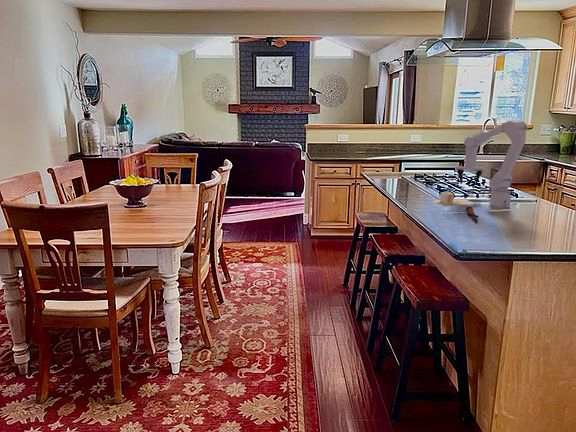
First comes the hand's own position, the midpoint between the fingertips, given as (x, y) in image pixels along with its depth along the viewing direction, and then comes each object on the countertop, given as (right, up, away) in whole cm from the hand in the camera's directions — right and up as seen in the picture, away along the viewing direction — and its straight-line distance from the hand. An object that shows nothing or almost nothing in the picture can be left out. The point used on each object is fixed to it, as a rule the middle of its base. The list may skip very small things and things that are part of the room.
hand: (468, 184), depth 246 cm
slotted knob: (-15, -10, -7) cm, 19 cm away
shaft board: (-11, -11, -6) cm, 16 cm away
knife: (-13, -19, -37) cm, 43 cm away
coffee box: (+22, -6, +14) cm, 27 cm away
